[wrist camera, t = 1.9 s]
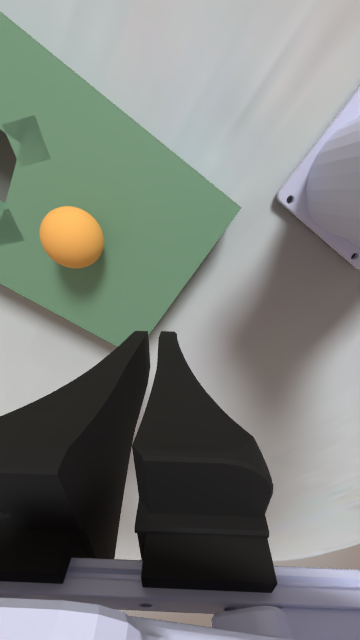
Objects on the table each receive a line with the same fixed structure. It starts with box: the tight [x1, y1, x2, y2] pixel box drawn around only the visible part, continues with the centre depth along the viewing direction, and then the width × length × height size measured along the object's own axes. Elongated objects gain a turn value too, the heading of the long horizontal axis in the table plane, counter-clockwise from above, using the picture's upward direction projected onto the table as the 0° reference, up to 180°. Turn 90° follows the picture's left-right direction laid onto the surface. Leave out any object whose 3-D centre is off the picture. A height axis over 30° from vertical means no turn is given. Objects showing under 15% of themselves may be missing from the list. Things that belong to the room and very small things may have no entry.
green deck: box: [0, 12, 241, 347], centre depth 16 cm, size 20×14×3 cm
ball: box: [39, 206, 104, 268], centre depth 14 cm, size 4×4×4 cm
